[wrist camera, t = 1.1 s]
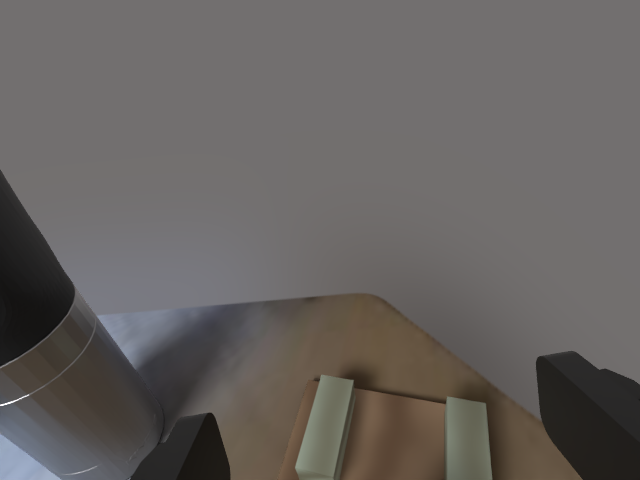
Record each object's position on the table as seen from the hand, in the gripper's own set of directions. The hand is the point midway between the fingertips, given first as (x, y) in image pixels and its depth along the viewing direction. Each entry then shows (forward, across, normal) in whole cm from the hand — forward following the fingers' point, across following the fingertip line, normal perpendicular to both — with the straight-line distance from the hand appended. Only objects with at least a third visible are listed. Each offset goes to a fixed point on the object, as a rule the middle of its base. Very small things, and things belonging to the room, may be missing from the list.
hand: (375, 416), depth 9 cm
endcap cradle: (+19, -1, +19) cm, 27 cm away
